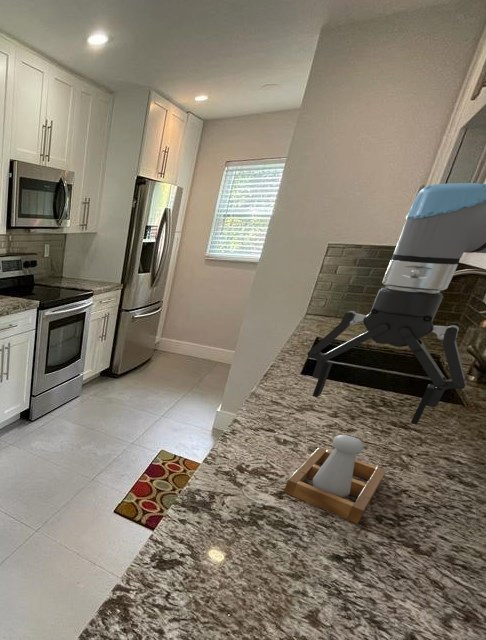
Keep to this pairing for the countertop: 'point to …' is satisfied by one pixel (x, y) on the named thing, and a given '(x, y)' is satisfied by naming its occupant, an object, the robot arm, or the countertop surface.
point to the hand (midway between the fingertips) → (362, 407)
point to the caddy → (329, 500)
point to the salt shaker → (339, 467)
